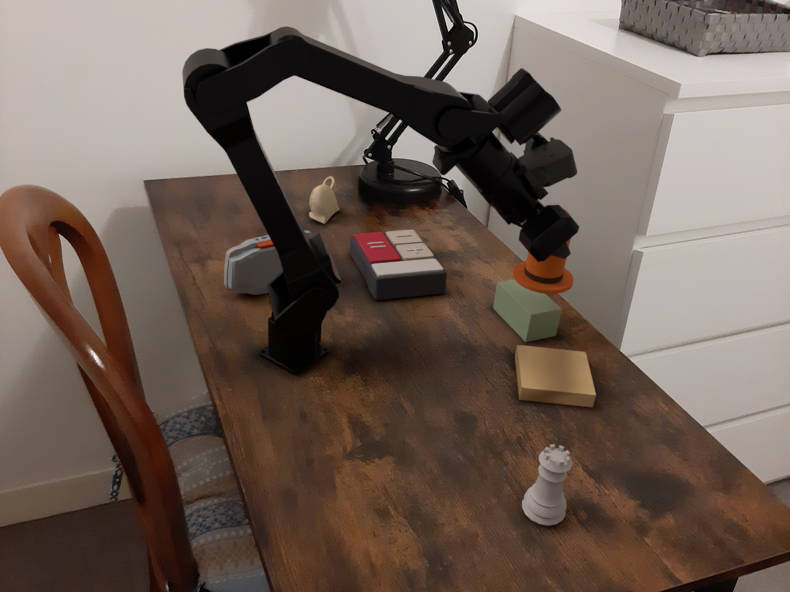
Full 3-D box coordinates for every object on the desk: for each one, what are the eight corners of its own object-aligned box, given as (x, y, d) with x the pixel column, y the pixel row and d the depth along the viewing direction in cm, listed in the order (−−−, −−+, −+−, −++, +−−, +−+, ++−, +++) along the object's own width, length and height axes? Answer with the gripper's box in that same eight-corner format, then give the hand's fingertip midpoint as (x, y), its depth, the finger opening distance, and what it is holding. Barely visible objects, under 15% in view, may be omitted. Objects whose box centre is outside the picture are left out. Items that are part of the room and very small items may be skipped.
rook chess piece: (559, 495, 79) (574, 438, 75) (569, 529, 75) (585, 470, 71) (517, 494, 79) (530, 436, 75) (525, 528, 75) (539, 469, 71)
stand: (519, 400, 92) (521, 387, 91) (514, 356, 100) (517, 344, 99) (592, 407, 92) (596, 395, 91) (582, 363, 100) (585, 351, 99)
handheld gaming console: (312, 271, 115) (312, 223, 111) (321, 279, 113) (322, 232, 109) (222, 294, 108) (220, 244, 104) (231, 303, 106) (228, 253, 102)
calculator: (415, 226, 122) (448, 267, 110) (413, 250, 124) (445, 293, 112) (349, 231, 119) (376, 274, 107) (348, 256, 121) (374, 300, 109)
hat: (526, 296, 96) (540, 223, 91) (503, 265, 103) (515, 196, 97) (583, 291, 98) (600, 220, 93) (557, 262, 105) (571, 193, 99)
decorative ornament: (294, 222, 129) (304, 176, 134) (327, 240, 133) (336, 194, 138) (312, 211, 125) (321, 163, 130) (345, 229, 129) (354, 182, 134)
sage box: (525, 342, 103) (531, 314, 101) (492, 308, 110) (497, 281, 107) (556, 336, 105) (562, 308, 102) (521, 302, 112) (526, 276, 109)
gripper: (579, 151, 81) (645, 238, 89) (513, 97, 96) (575, 175, 104) (500, 221, 83) (571, 299, 91) (447, 157, 98) (513, 229, 107)
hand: (558, 246), depth 98 cm, fingers closed on hat, 5 cm apart
